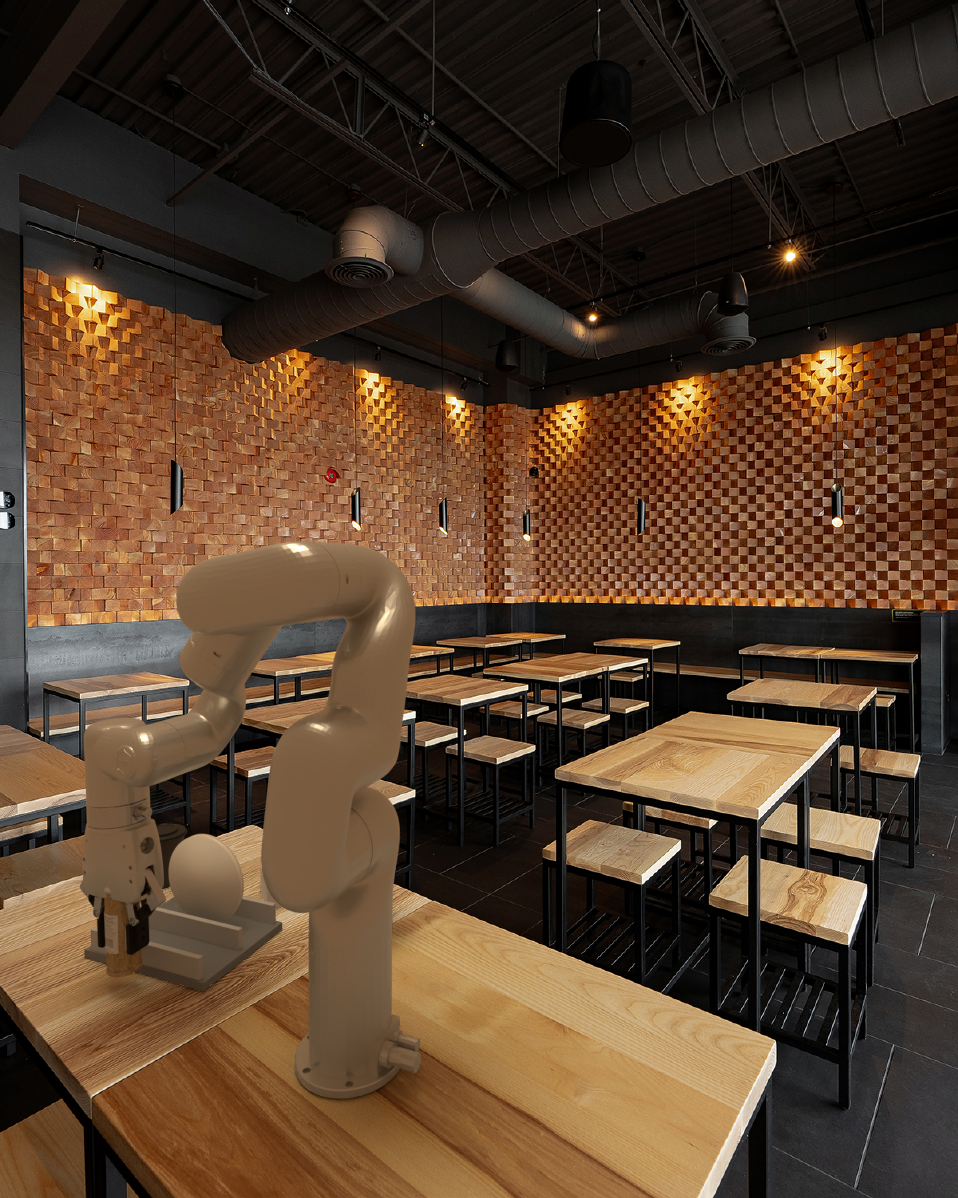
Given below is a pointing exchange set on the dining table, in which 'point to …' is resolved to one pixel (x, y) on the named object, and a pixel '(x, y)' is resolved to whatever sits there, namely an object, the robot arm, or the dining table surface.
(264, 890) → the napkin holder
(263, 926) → the dish rack
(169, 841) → the dark brown tapered cylinder
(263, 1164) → the dining table surface
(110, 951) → the sprinkles bottle
